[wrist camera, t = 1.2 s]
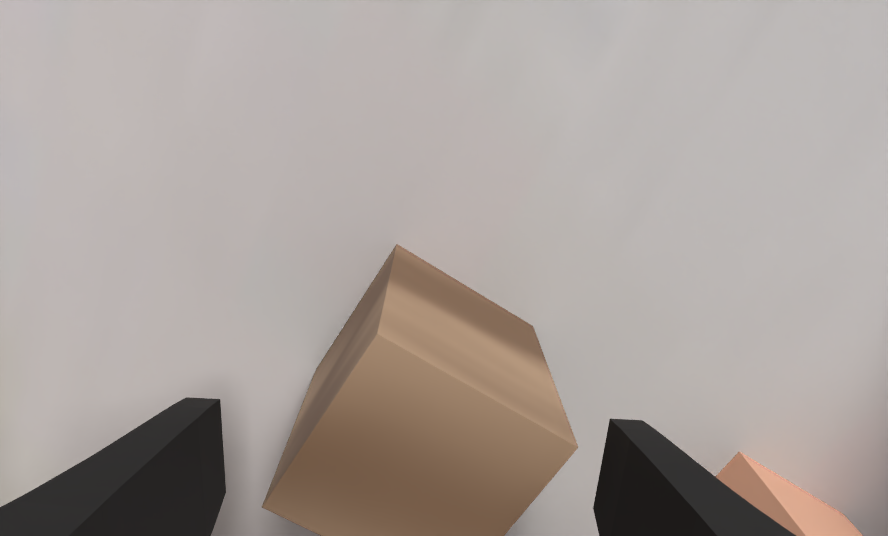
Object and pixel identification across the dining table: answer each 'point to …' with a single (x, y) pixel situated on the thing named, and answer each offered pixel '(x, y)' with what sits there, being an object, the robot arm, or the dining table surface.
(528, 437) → the walnut brick
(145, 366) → the dining table surface
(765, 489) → the terracotta brick
